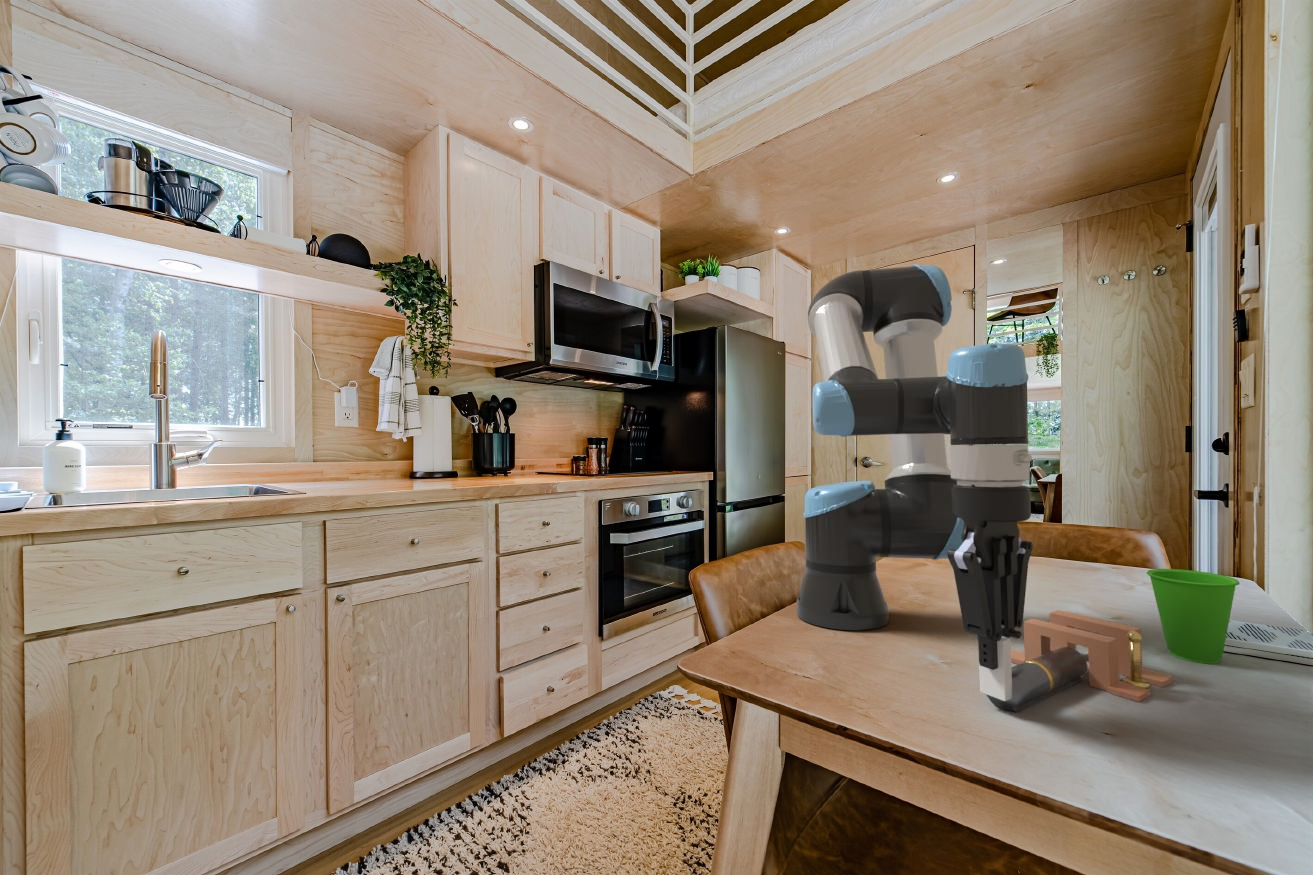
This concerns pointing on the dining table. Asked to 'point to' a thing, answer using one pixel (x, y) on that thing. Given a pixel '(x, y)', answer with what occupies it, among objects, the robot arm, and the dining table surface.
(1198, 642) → the cup
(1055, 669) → the tube
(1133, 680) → the pointer post
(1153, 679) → the collar
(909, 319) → the robot arm
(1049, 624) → the collar
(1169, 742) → the dining table surface
